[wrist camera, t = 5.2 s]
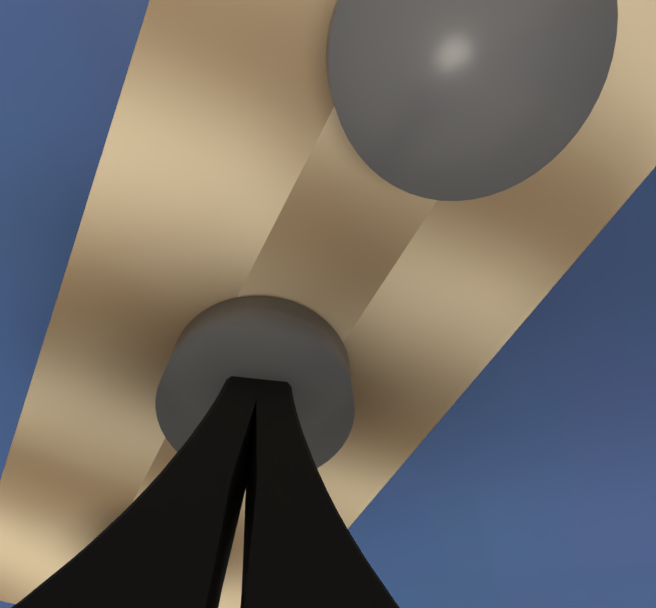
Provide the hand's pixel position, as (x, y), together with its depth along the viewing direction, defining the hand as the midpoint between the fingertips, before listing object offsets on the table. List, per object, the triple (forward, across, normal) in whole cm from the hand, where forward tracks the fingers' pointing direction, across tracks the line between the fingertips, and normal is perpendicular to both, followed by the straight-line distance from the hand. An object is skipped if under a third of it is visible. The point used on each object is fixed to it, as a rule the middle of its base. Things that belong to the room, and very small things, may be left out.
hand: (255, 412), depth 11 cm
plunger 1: (+6, 0, 0) cm, 6 cm away
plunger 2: (+6, -3, -8) cm, 10 cm away
